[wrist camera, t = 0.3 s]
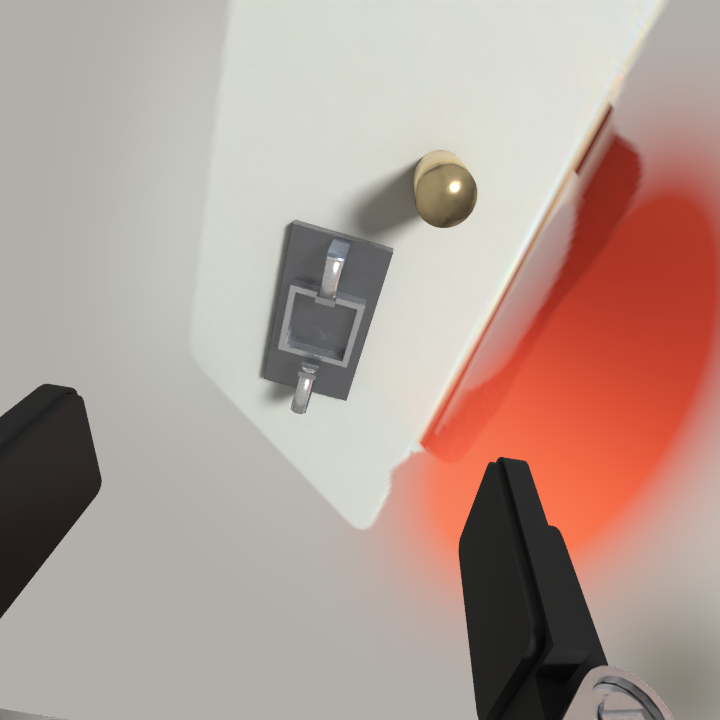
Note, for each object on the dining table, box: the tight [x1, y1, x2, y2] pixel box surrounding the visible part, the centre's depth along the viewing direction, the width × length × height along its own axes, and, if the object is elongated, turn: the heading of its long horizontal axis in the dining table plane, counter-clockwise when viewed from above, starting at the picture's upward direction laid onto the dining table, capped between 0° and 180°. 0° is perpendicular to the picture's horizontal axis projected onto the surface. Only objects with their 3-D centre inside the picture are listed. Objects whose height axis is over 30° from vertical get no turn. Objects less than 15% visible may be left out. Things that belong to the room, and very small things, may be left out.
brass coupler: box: [414, 150, 477, 228], centre depth 36 cm, size 4×4×8 cm
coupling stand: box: [264, 220, 393, 414], centre depth 44 cm, size 10×18×6 cm, turn 165°
